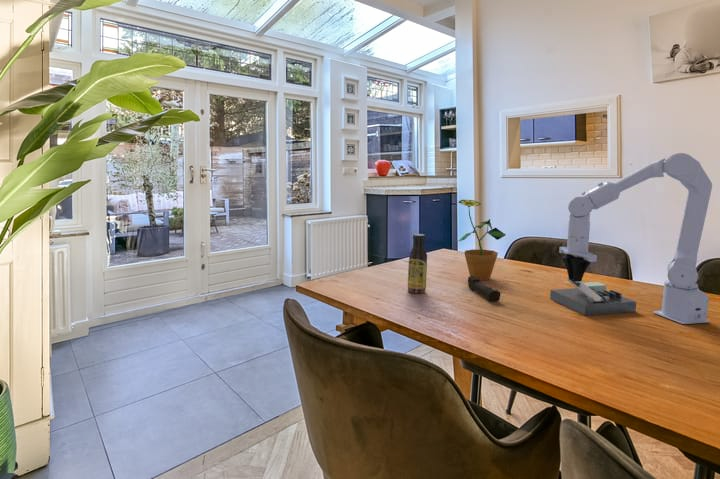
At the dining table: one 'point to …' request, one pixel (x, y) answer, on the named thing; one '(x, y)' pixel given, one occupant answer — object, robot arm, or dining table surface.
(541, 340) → the dining table surface
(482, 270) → the potted plant
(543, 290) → the dining table surface
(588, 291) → the grey flat bar
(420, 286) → the sauce bottle
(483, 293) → the hand tool
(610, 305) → the heatsink block
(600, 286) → the catch
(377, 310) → the dining table surface
